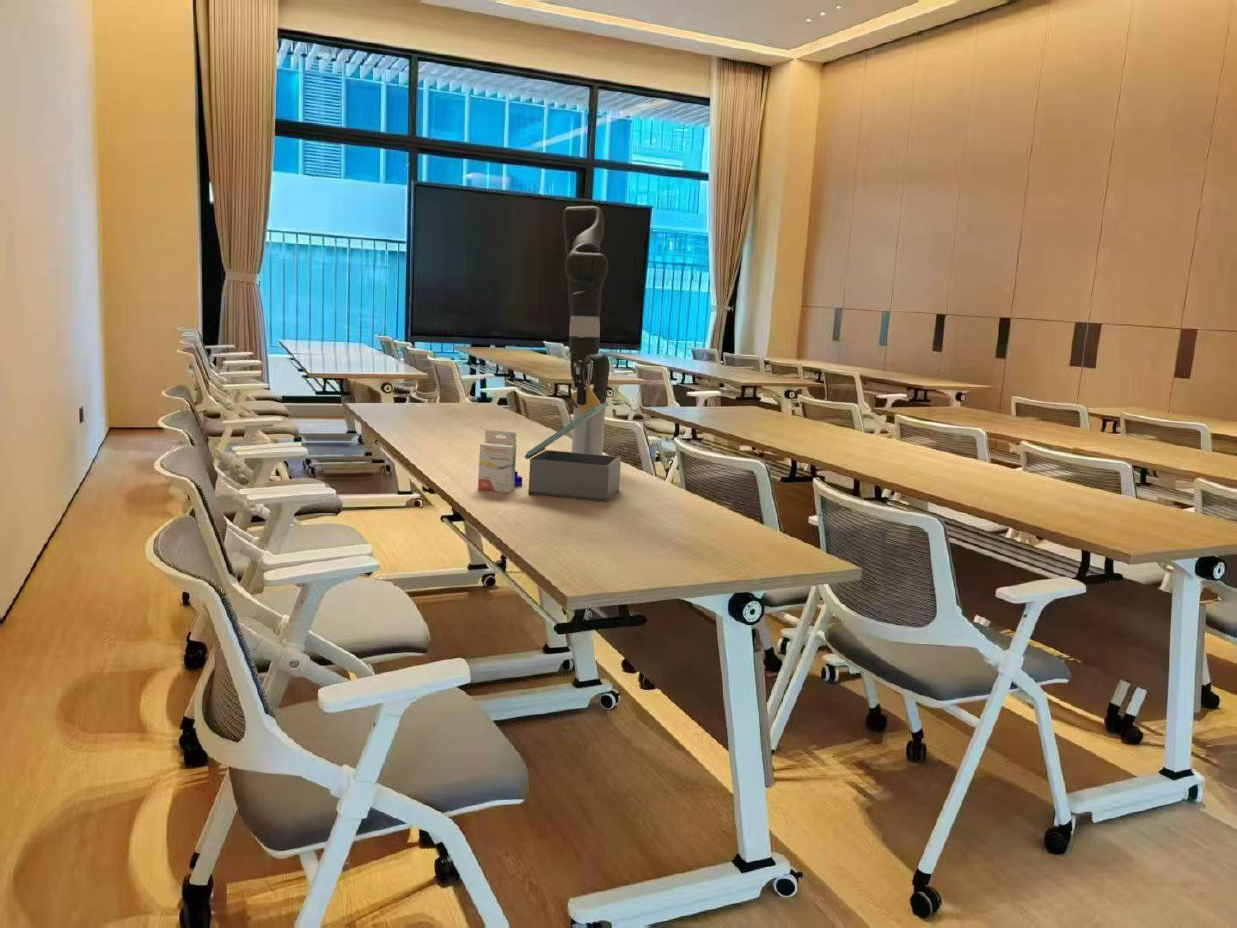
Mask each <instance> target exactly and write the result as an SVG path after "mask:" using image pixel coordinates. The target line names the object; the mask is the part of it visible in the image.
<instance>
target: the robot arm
mask: <svg viewBox="0 0 1237 928" xmlns="http://www.w3.org/2000/svg"><path fill="white" fill-rule="evenodd" d="M562 215H563V216H562V224H563V237H564V245H565V254H566V259H565V263H564V271H565V275H566V277H567V294H568V295H567V296H568V310H569V330H568V331H569V332H568V333H569V334H568V336H569V338H568V352H569V353H570V376H571V379H572V381H573V384H574V385H573V386H574V388H575V389H576V390H577V391H576V392H577V404H578V405H585V404H586V389H587V384H588V385H589V386H590V387H591V385H592V391H593V392H594V394H595V395H596V397H597V398H598V400H599V401H600V403H601V404H603V403H605V402H607V397H608V384H609V376H610V359H609V357H608V355H607V354H604V353H600V333H601V332H600V331H601V324H600V314H601V311H602V295H601V294H602V290H603V287H604V284H605V281H606V278H607V274H608V270H609V261H608V259H607V257H606V255H605V254H603V253H601V247H600V246H601V243H602V241H603V238H604V233H605V220H604V213H603V210H602V209H601V208H600V207H599V206H596V205H583V206H567V207H566V208H564V210H563V213H562ZM573 401H574V400H573ZM577 404H576V403H575V401H574V403H573V419H572V422H573V421H574V420H576V419H577V418H579V417H580V416H582V415H583V413H582V412H581V410H580V409H579V407H578V406H577ZM605 413H606V407H605V408H604V409H602V410H601V411H599V412H598V413H596V414H595V415H593V416H592V417H590V418H589V419H587V420H586V421H584V422H583V423H581V424H580V425H578V426H577V427H575V428H574V429H572V437H571V438H572V439H571V440H572V441H571V452H576V453H586V454H597V455H603V451H604V436H605V435H604V434H605V419H606V418H605V415H606V414H605Z"/></svg>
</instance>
